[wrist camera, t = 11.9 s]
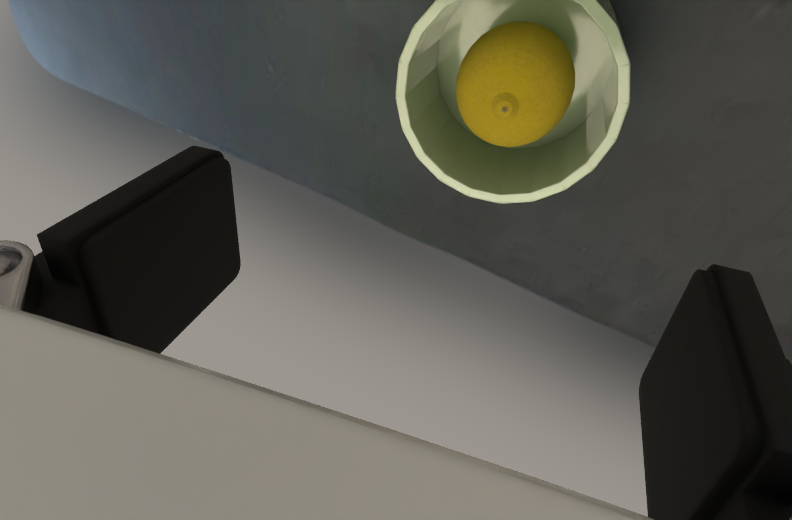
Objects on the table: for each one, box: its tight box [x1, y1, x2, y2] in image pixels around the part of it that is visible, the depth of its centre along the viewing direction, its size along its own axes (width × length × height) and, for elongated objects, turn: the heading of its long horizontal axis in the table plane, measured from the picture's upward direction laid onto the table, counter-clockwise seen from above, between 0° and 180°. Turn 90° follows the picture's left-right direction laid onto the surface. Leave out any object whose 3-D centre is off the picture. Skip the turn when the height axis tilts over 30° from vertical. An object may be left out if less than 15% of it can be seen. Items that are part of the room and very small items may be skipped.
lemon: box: [456, 21, 575, 147], centre depth 25 cm, size 6×6×8 cm
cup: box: [395, 0, 630, 204], centre depth 26 cm, size 10×10×7 cm
